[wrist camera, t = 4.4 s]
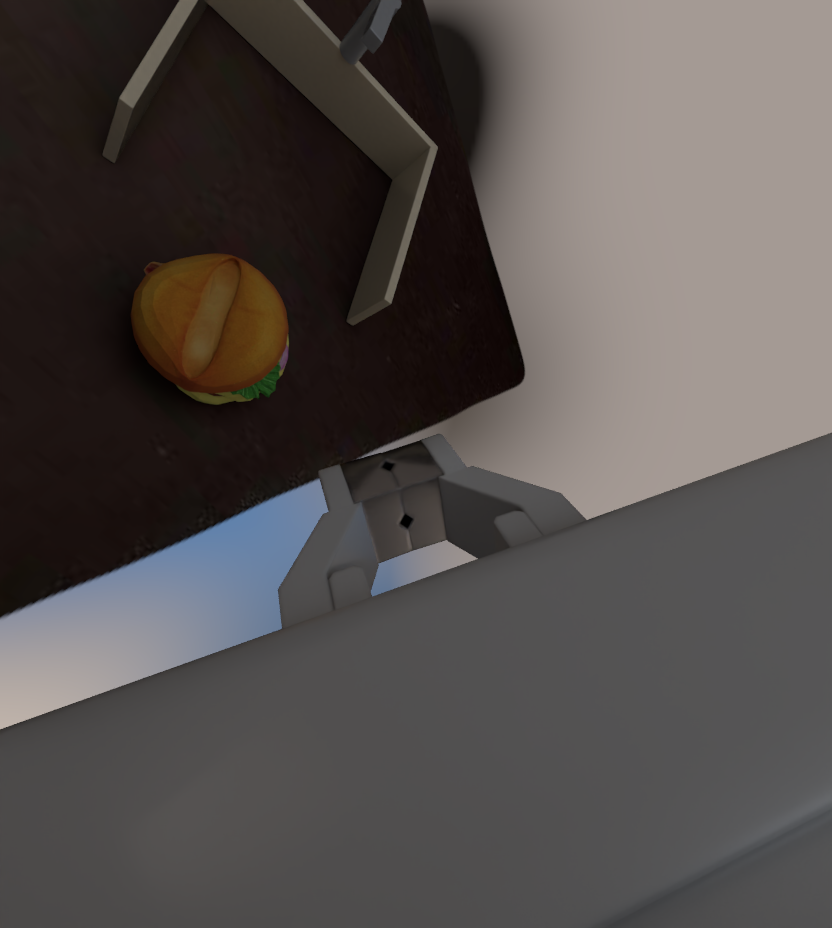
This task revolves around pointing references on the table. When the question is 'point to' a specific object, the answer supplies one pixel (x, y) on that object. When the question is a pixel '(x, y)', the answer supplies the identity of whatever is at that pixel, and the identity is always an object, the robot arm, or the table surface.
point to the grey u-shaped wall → (331, 90)
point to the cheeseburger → (212, 327)
